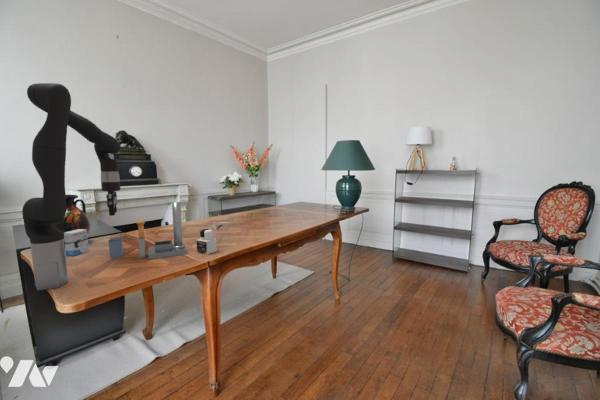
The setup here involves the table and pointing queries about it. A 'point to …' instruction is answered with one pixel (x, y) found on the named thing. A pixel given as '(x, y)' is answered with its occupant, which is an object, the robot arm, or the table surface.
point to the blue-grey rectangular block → (115, 247)
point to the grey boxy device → (206, 242)
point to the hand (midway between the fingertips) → (113, 214)
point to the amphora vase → (73, 217)
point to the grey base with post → (167, 247)
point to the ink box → (76, 242)
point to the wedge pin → (141, 228)
